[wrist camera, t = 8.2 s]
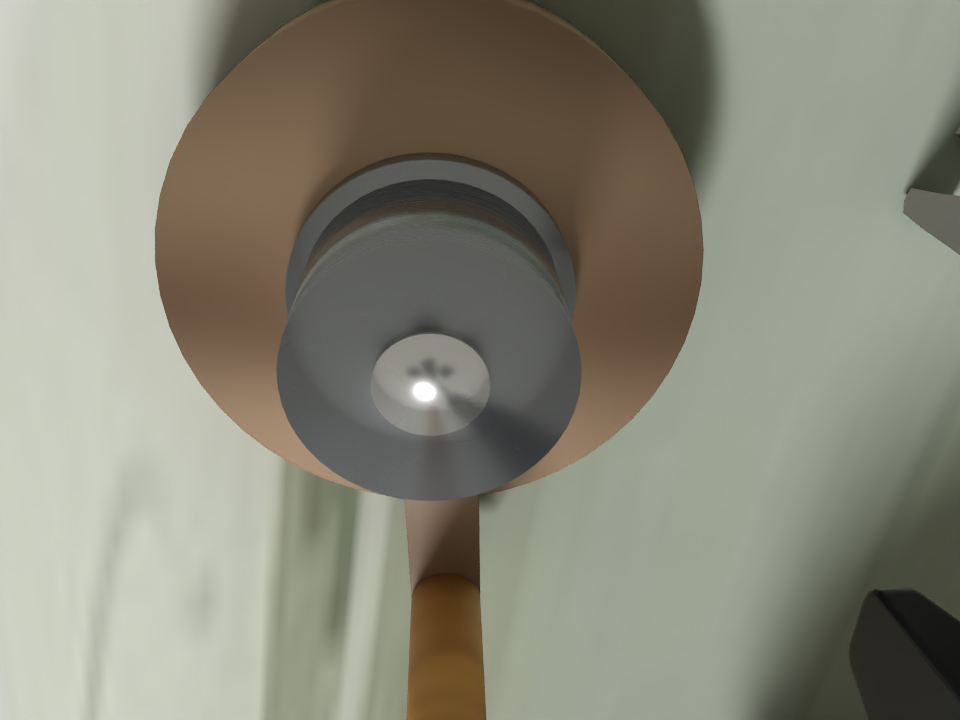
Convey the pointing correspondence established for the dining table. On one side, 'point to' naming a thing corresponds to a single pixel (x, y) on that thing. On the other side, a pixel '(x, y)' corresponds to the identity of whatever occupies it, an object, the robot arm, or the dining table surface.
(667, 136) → the turntable
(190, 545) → the dining table surface
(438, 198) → the cover
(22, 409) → the dining table surface
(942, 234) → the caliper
